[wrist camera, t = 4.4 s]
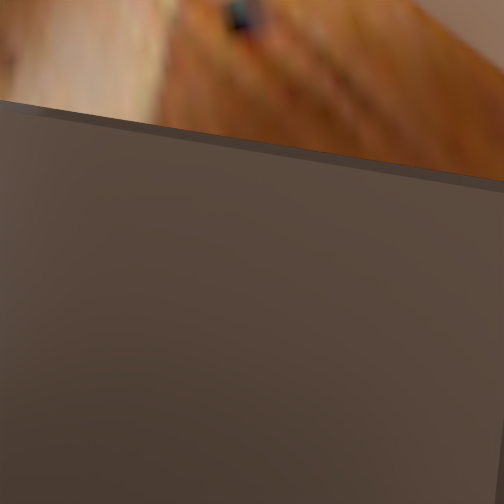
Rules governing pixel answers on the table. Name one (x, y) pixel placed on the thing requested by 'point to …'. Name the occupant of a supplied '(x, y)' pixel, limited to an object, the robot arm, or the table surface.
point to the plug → (242, 321)
